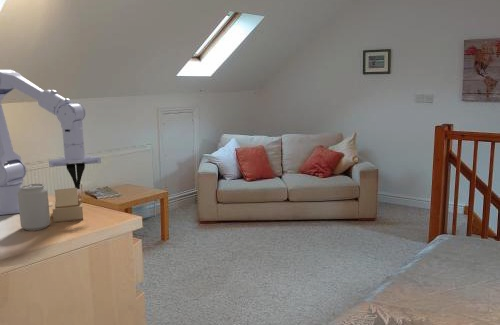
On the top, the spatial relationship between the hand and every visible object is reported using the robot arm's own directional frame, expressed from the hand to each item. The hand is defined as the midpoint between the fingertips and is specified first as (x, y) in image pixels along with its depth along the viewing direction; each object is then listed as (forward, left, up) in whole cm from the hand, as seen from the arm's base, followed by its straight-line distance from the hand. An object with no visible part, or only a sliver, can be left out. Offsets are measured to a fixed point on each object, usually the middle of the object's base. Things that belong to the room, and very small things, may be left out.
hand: (77, 188), depth 143 cm
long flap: (+6, -3, -1) cm, 7 cm away
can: (+9, -12, -8) cm, 17 cm away
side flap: (0, +1, -1) cm, 1 cm away
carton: (-1, -5, -8) cm, 10 cm away
